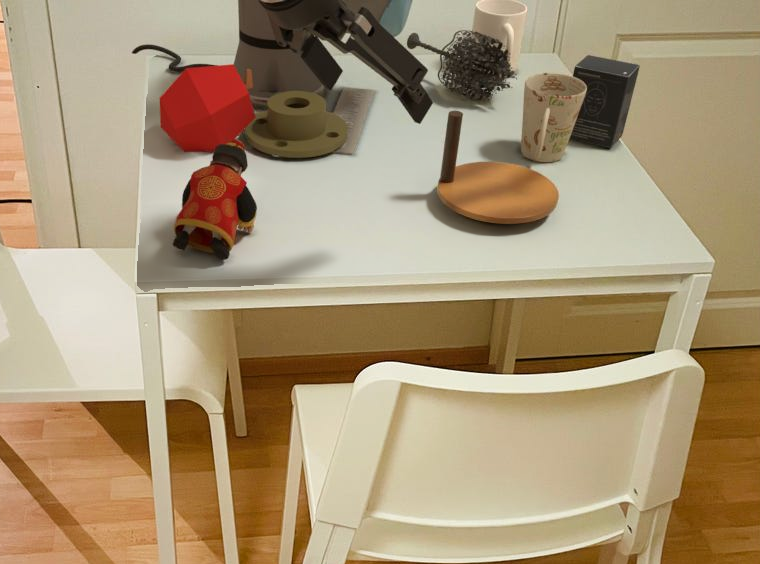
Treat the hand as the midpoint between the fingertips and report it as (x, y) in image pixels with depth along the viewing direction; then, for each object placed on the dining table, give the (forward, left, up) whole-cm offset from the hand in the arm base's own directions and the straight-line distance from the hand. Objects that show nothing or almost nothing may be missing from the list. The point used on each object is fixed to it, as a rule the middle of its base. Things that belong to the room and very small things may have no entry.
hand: (378, 95), depth 107 cm
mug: (+1, +33, -17) cm, 37 cm away
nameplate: (-24, +23, -17) cm, 37 cm away
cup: (-24, +53, -17) cm, 60 cm away
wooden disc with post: (+6, +18, -16) cm, 24 cm away
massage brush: (-23, +40, -8) cm, 47 cm away
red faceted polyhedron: (-36, -6, -14) cm, 40 cm away
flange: (-19, +14, -14) cm, 28 cm away
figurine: (-8, -20, -17) cm, 27 cm away
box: (+2, +45, -17) cm, 48 cm away
